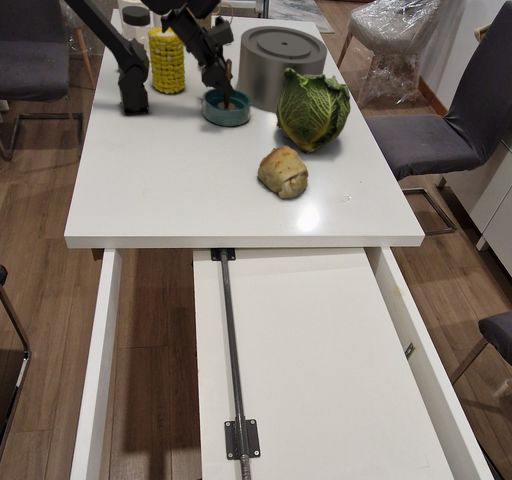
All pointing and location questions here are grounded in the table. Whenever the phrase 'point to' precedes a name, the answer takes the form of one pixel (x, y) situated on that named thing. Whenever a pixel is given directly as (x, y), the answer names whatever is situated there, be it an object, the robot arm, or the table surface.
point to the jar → (137, 25)
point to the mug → (208, 20)
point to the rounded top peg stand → (226, 104)
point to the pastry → (283, 172)
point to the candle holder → (128, 0)
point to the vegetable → (312, 109)
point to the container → (276, 61)
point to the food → (166, 60)
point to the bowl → (226, 116)
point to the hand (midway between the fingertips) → (233, 86)
